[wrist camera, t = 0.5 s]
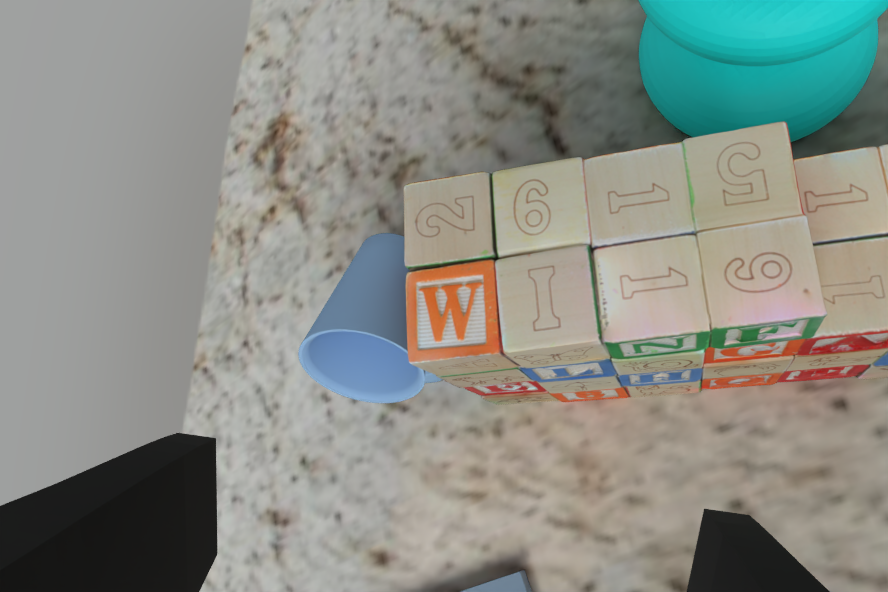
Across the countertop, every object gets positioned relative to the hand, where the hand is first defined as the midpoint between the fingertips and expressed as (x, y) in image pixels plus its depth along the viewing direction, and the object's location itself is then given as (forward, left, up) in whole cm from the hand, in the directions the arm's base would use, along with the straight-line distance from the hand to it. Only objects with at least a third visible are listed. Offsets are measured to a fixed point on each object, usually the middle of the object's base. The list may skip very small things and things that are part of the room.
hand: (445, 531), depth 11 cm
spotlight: (+10, +5, -24) cm, 26 cm away
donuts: (+17, -14, -24) cm, 32 cm away
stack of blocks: (+6, -8, -24) cm, 26 cm away
